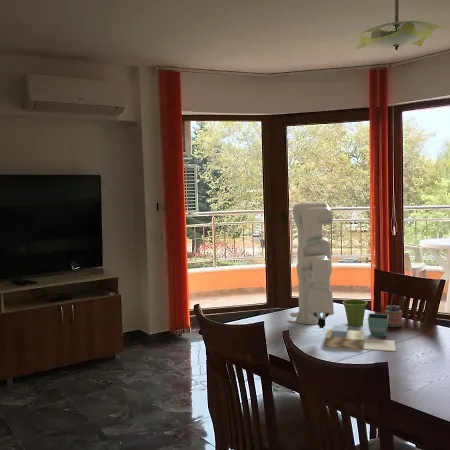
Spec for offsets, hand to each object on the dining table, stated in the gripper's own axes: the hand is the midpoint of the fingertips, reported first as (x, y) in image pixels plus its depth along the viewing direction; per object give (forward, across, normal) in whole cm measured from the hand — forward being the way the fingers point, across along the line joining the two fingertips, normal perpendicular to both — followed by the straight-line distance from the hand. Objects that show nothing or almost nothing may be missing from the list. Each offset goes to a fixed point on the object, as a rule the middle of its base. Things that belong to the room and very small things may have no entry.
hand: (321, 327), depth 223 cm
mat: (+7, +24, +1) cm, 25 cm away
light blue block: (+1, +8, 0) cm, 8 cm away
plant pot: (+6, +13, +33) cm, 36 cm away
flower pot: (+7, +24, +16) cm, 29 cm away
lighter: (+6, +31, +34) cm, 46 cm away
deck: (+7, +10, +1) cm, 12 cm away
